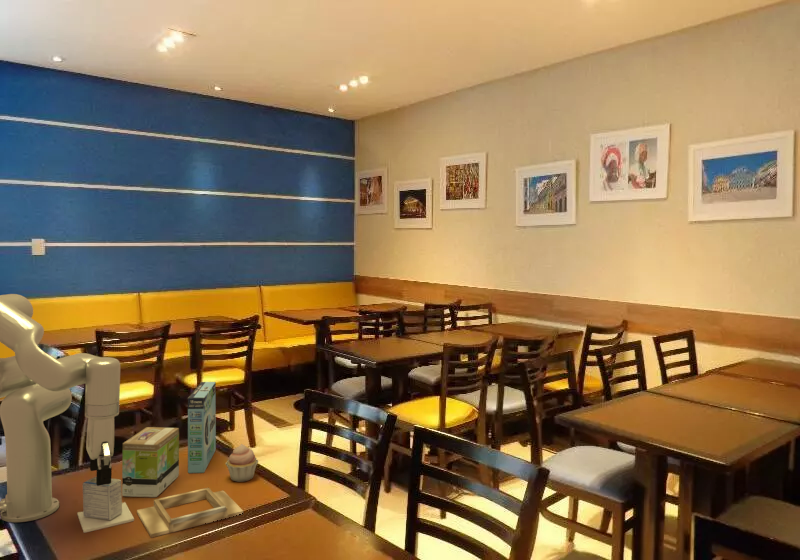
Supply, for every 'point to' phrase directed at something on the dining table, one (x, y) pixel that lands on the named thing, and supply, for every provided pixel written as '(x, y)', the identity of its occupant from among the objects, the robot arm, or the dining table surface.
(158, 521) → the beige rectangular frame piece
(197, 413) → the gum box
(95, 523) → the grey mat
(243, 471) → the cupcake
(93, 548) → the dining table surface
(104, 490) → the medicine box
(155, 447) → the tea box
